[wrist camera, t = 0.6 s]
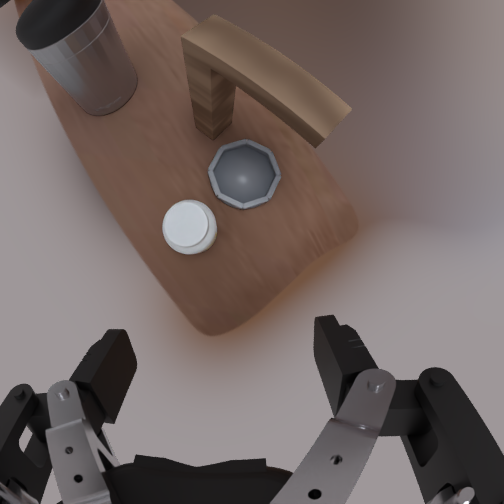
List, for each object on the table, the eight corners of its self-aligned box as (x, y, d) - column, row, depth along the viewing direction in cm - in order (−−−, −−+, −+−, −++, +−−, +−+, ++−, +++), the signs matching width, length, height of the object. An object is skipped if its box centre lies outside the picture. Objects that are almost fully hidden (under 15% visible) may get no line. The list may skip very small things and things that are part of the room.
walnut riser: (273, 190, 34) (325, 138, 17) (196, 127, 33) (180, 36, 15) (290, 171, 35) (352, 109, 17) (214, 109, 33) (214, 14, 16)
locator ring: (200, 155, 33) (200, 152, 32) (263, 136, 34) (265, 132, 33) (222, 218, 34) (222, 217, 32) (286, 196, 35) (289, 194, 33)
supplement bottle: (216, 254, 34) (214, 257, 24) (172, 252, 33) (154, 254, 24) (218, 209, 34) (217, 195, 24) (174, 207, 33) (157, 193, 24)
